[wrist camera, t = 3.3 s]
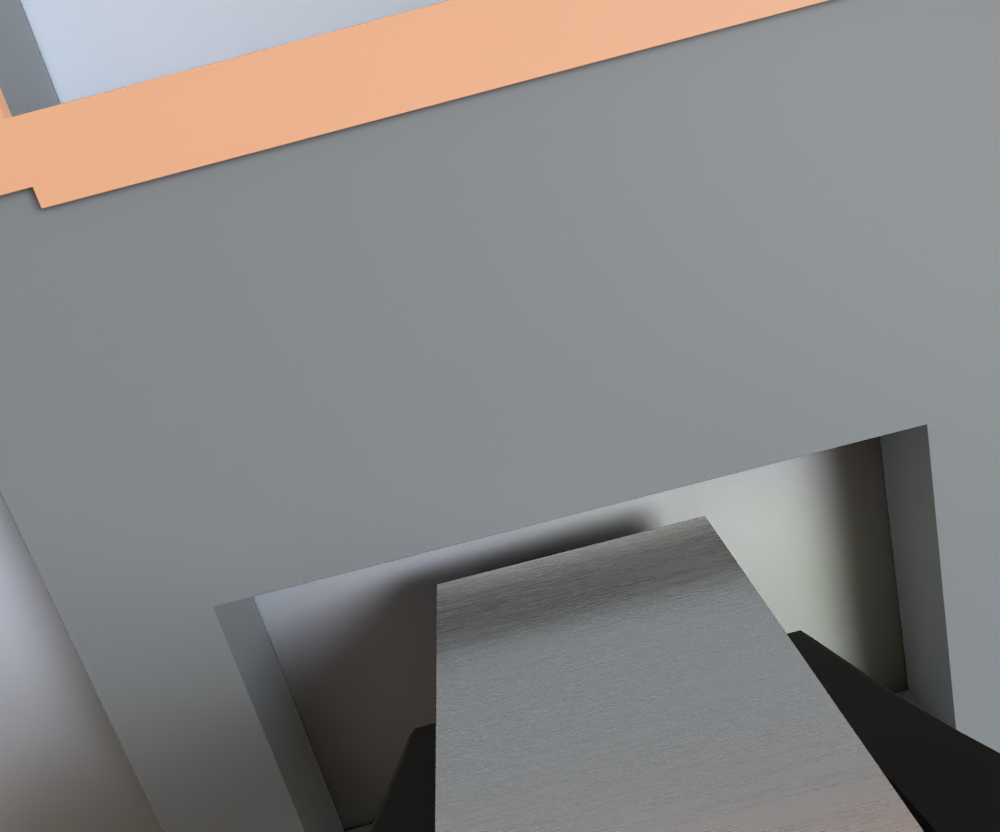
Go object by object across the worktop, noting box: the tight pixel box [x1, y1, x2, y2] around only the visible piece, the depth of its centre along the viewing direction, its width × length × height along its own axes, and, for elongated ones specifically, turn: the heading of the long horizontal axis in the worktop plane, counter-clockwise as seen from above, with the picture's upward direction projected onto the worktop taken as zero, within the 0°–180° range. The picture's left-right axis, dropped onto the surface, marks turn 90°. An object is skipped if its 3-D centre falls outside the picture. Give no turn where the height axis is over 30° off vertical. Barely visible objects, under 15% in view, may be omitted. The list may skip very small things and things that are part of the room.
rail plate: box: [0, 0, 1000, 832], centre depth 11 cm, size 14×26×2 cm, turn 14°
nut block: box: [435, 516, 924, 832], centre depth 10 cm, size 4×4×6 cm
